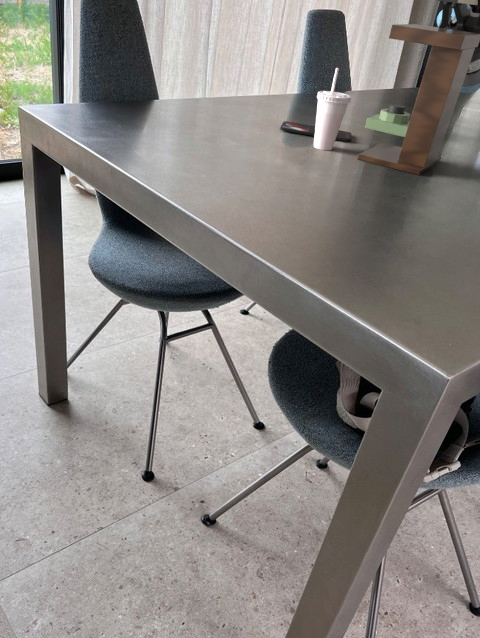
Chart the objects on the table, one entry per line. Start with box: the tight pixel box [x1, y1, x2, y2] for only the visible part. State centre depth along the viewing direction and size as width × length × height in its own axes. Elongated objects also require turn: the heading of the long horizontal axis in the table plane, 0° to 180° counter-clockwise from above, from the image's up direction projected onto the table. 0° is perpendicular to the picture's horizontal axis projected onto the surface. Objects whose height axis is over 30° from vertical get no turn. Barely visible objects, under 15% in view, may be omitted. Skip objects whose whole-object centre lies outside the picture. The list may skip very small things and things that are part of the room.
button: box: [387, 103, 406, 114], centre depth 130 cm, size 4×4×2 cm
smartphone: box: [279, 120, 352, 143], centre depth 121 cm, size 7×1×15 cm
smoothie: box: [313, 67, 352, 151], centre depth 108 cm, size 6×6×14 cm
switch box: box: [364, 108, 411, 138], centre depth 131 cm, size 10×8×4 cm
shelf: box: [357, 23, 480, 176], centre depth 104 cm, size 12×14×22 cm
